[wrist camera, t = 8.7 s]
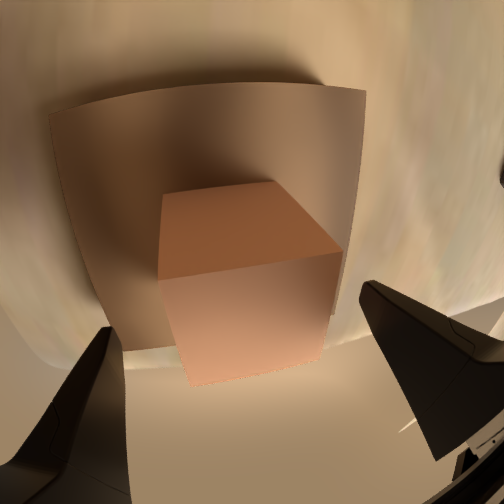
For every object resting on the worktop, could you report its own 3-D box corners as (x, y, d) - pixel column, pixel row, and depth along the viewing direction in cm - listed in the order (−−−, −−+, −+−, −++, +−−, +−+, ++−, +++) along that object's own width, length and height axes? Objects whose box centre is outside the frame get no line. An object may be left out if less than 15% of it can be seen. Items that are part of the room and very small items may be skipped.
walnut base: (327, 86, 14) (366, 90, 11) (311, 279, 22) (333, 314, 19) (77, 107, 12) (48, 114, 8) (127, 309, 19) (123, 351, 16)
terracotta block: (276, 181, 13) (343, 250, 8) (273, 271, 15) (319, 359, 10) (163, 194, 12) (157, 280, 7) (179, 286, 14) (190, 386, 10)
